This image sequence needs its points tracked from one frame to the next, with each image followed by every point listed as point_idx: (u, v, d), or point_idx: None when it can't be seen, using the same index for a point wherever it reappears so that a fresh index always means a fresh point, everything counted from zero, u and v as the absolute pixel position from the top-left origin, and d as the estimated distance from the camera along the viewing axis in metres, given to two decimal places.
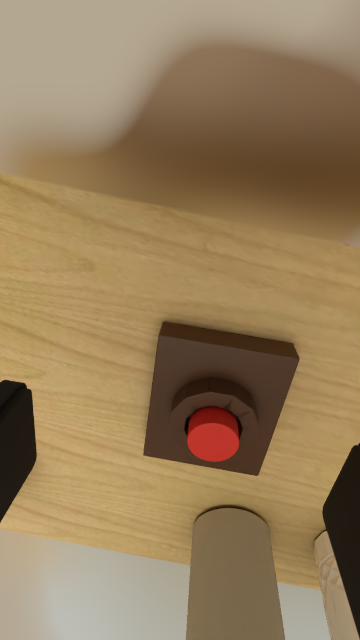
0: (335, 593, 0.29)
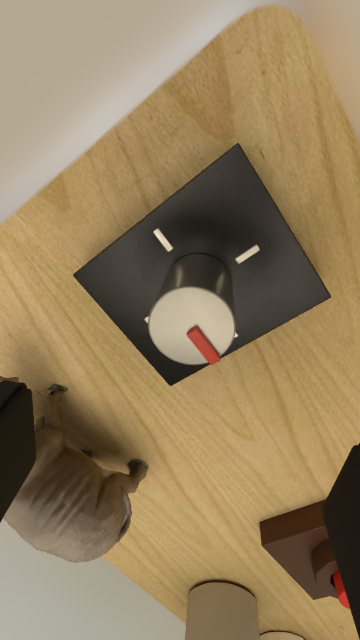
0: None
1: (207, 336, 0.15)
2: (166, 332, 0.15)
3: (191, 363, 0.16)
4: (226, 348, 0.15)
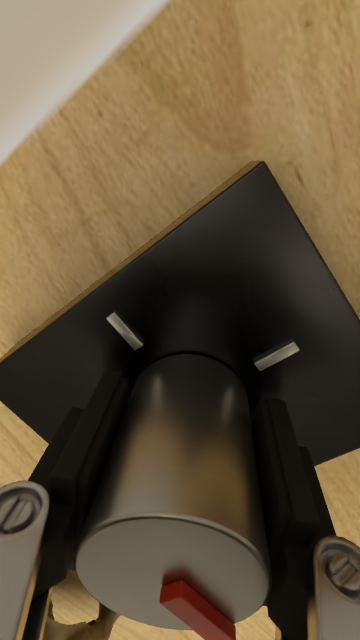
0: None
1: (207, 594, 0.07)
2: (115, 582, 0.07)
3: (173, 628, 0.07)
4: (249, 614, 0.07)
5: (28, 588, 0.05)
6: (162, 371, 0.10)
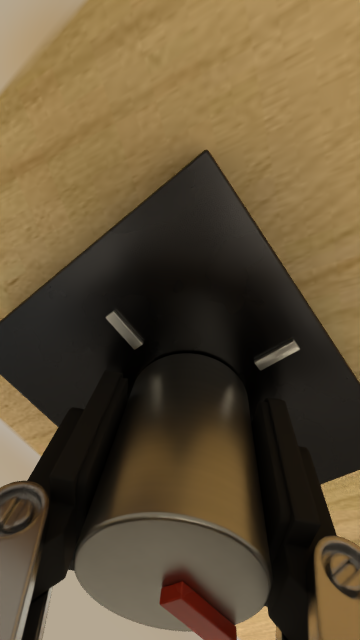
0: None
1: (207, 596, 0.07)
2: (115, 584, 0.07)
3: (173, 629, 0.07)
4: (249, 616, 0.07)
5: (28, 588, 0.05)
6: (162, 370, 0.10)
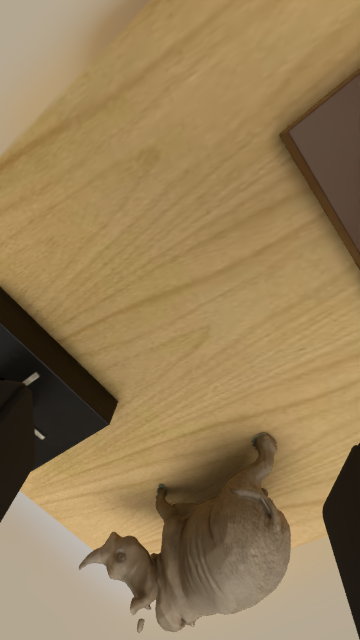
0: None
1: None
2: None
3: None
4: None
5: None
6: None
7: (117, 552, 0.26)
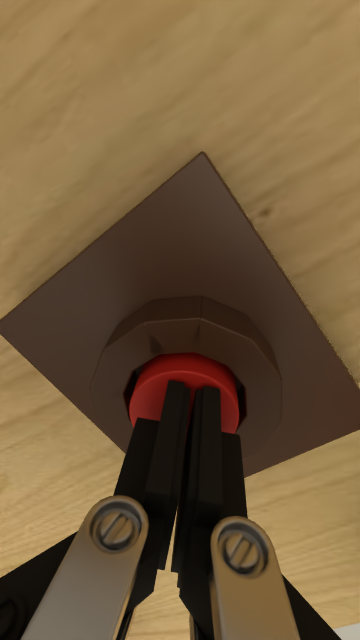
0: None
1: None
2: None
3: None
4: None
5: (118, 619, 0.05)
6: None
7: None
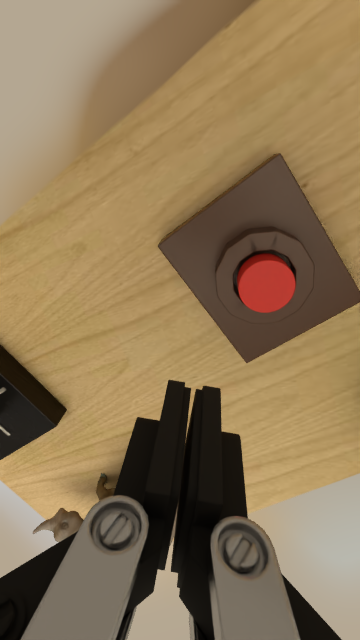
0: None
1: None
2: None
3: None
4: None
5: (119, 619, 0.05)
6: None
7: (62, 522, 0.35)
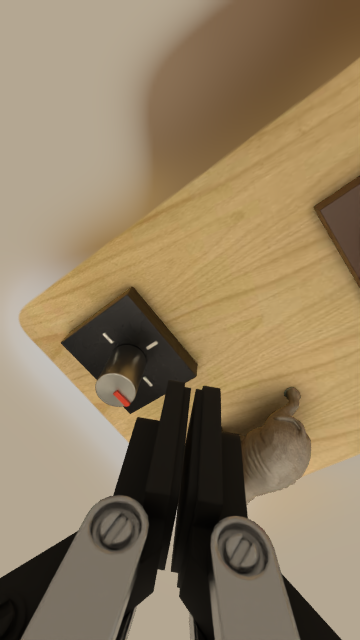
0: None
1: (123, 393, 0.32)
2: (104, 392, 0.32)
3: (117, 406, 0.33)
4: (132, 399, 0.32)
5: (118, 619, 0.05)
6: (118, 349, 0.36)
7: None
